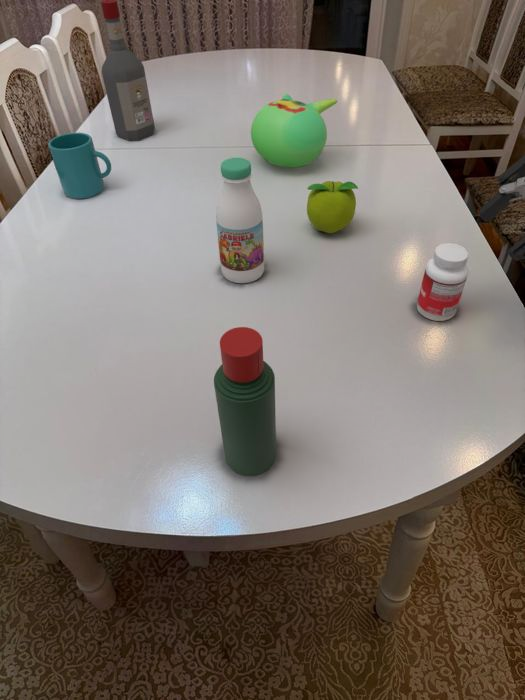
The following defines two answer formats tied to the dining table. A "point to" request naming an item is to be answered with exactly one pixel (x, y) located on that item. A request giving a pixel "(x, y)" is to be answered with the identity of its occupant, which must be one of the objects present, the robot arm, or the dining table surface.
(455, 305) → the pill bottle
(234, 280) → the milk bottle
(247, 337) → the cap
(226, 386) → the bottle
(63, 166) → the cup
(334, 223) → the fruit
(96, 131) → the dining table surface
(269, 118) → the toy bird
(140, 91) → the liquor
